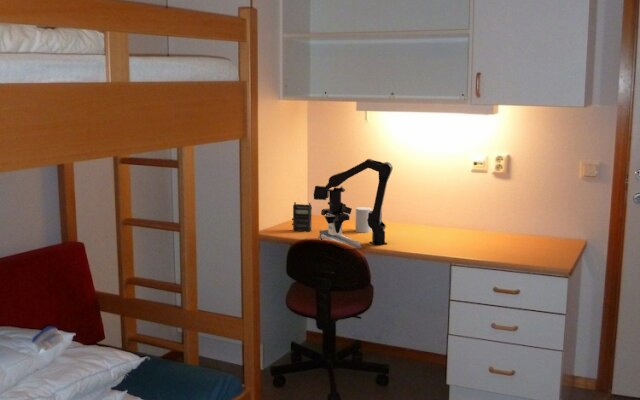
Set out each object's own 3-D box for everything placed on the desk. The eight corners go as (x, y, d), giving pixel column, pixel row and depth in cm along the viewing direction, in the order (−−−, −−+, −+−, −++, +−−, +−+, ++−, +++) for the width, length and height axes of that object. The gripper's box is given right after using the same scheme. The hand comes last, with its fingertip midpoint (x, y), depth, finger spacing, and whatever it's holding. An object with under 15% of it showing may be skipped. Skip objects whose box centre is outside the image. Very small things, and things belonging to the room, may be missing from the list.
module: (341, 234, 350) (342, 224, 349) (332, 235, 348) (332, 225, 347) (337, 232, 355) (337, 222, 354) (327, 233, 352) (327, 223, 351)
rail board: (362, 247, 338) (362, 239, 338) (343, 249, 334) (343, 241, 333) (335, 236, 361) (336, 228, 360) (318, 238, 357) (318, 230, 356)
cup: (371, 229, 379) (371, 207, 377) (370, 232, 371) (371, 210, 369) (355, 229, 380) (356, 206, 378) (355, 232, 372) (355, 209, 370)
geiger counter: (290, 231, 373) (290, 202, 371) (293, 229, 378) (293, 201, 375) (310, 232, 371) (310, 203, 369) (312, 230, 375) (312, 202, 373)
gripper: (359, 202, 344) (358, 234, 347) (340, 196, 360) (340, 226, 363) (338, 203, 339) (338, 236, 342) (320, 198, 355) (320, 228, 358)
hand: (335, 231), depth 351 cm, fingers closed on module, 5 cm apart
